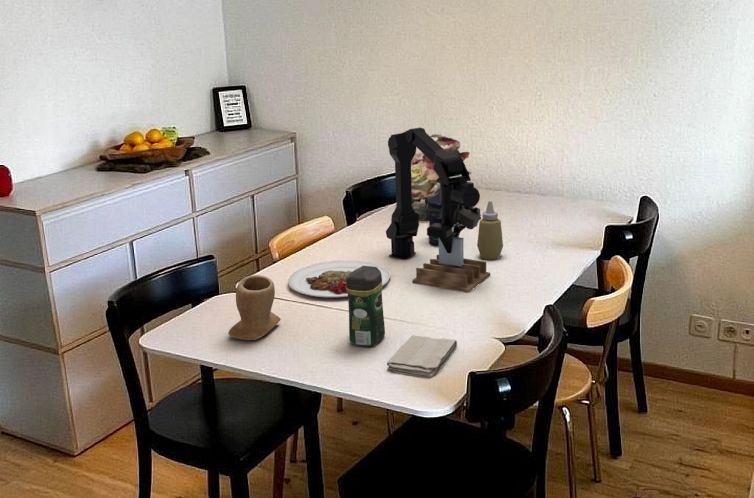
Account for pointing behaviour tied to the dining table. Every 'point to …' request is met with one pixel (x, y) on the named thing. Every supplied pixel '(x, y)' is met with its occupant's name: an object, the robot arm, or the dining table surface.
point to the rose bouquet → (430, 175)
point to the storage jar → (434, 217)
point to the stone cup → (254, 308)
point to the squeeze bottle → (490, 234)
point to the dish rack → (452, 275)
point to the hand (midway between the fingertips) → (451, 251)
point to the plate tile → (452, 253)
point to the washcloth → (422, 356)
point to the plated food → (328, 278)
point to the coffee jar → (365, 306)
